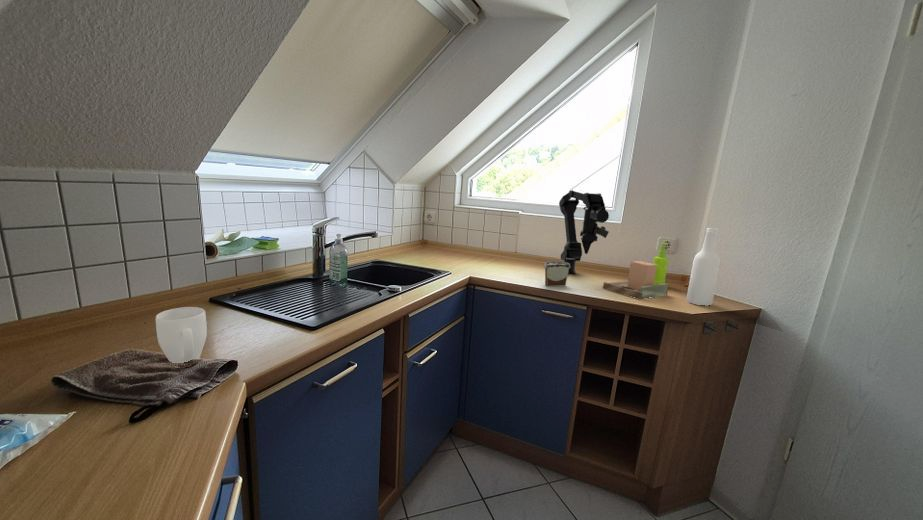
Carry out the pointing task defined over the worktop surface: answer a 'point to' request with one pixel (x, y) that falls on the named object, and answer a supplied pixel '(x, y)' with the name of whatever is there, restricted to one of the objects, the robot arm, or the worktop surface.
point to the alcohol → (705, 271)
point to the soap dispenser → (661, 265)
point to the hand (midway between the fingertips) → (586, 253)
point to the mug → (182, 333)
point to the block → (641, 274)
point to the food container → (556, 273)
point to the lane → (640, 294)
